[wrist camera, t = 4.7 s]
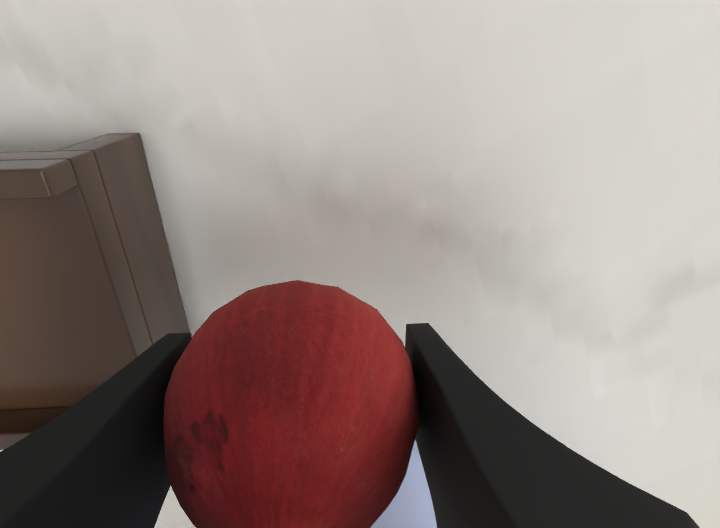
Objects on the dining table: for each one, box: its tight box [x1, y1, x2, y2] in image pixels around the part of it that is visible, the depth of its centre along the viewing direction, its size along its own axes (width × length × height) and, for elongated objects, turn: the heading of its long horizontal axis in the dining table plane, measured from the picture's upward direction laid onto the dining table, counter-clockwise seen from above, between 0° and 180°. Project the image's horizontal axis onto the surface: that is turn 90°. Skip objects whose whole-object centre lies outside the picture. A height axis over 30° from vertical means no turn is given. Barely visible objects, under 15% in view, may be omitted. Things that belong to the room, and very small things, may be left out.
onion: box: [163, 280, 420, 528], centre depth 9 cm, size 6×6×8 cm
